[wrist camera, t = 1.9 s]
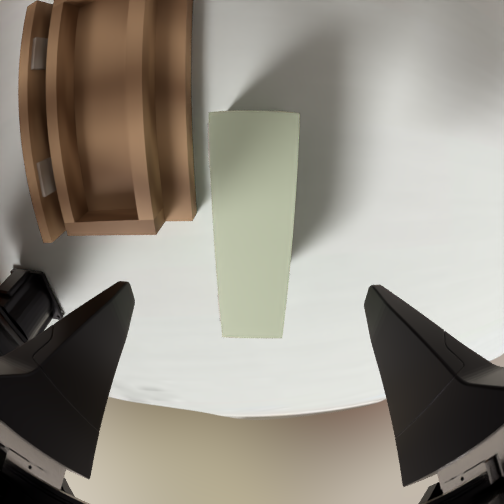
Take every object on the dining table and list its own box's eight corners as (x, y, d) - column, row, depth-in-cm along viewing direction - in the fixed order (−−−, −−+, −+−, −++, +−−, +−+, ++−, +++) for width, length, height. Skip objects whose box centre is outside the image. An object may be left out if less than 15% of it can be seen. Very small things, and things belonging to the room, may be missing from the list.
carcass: (197, 212, 19) (181, 242, 15) (74, 216, 19) (43, 242, 15) (194, -27, 10) (178, -56, 6) (62, 14, 10) (27, 6, 6)
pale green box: (275, 271, 21) (282, 338, 15) (228, 270, 21) (219, 337, 15) (282, 111, 15) (299, 113, 9) (224, 110, 15) (203, 112, 9)
